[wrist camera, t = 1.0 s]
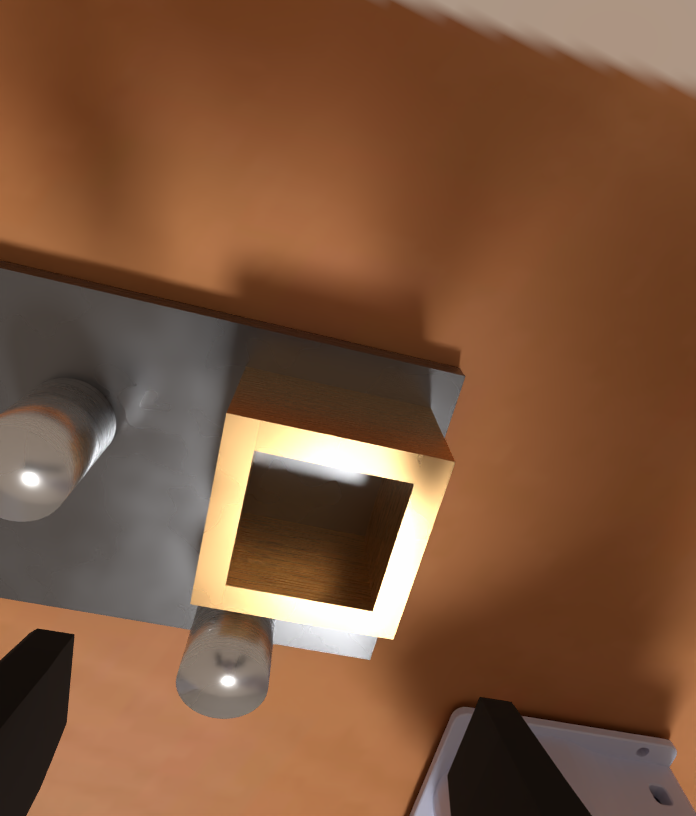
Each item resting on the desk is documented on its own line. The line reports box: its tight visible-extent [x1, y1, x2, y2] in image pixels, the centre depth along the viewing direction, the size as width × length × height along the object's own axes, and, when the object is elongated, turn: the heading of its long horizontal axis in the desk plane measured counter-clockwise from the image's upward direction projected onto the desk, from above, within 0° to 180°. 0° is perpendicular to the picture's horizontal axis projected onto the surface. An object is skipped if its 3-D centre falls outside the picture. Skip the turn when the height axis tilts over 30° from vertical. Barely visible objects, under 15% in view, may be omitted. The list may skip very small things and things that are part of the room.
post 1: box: [0, 378, 116, 522], centre depth 16 cm, size 3×3×4 cm
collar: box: [190, 367, 455, 639], centre depth 17 cm, size 6×6×4 cm
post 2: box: [176, 606, 276, 719], centre depth 18 cm, size 3×3×4 cm
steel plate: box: [0, 261, 465, 660], centre depth 19 cm, size 16×11×1 cm
